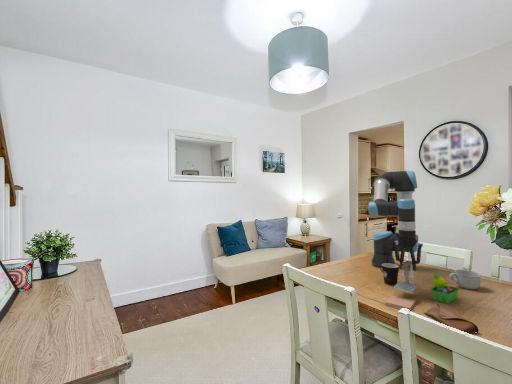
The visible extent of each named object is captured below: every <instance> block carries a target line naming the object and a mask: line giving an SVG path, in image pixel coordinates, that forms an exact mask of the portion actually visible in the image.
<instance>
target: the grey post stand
mask: <svg viewBox="0 0 512 384" xmlns="http://www.w3.org/2000/svg"><path fill="white" fill-rule="evenodd" d="M403 262H404V263H403V264H402V269H401V270H405V276H404V277H405V278H404V279H405V280H404V281H403V280H399V281H397V284H396V285H393V287H392V289H393V290H398V291H402V292H406V293H411V294H412V293H414V291H415V289H416V288H417V287H418V285H419V284H418V283H413V282H409V279H410V278H409V276H410V275H409V271H411V263H412V260H405V261H403Z"/></svg>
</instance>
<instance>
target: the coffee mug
mask: <svg viewBox="0 0 512 384" xmlns="http://www.w3.org/2000/svg"><path fill="white" fill-rule="evenodd" d="M381 266H382V268H381ZM399 268H400V265H399V264H397V263H396V264H390V263H385V264H382V265H380V268H379V269H380V271H381V273H382V276H383V283H384V284H386V285H388V286H395V285H396V284H397V283H398V279H399Z"/></svg>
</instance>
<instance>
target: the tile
mask: <svg viewBox="0 0 512 384" xmlns="http://www.w3.org/2000/svg"><path fill="white" fill-rule="evenodd" d="M384 305H385V306H387V305H388V307H391V306H392V308H395V307H397V308H396V309H399V308H400V310H402V309H401V308H407V309H409V310H411V311H412V309H413V308H414V306H415V305H416V300H414V299H410V298H405V297H401V296H397V295H393V294H391V295H390V296H389V297H388V298H387V299H386V301H384Z"/></svg>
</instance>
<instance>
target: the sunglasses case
mask: <svg viewBox="0 0 512 384" xmlns="http://www.w3.org/2000/svg"><path fill="white" fill-rule="evenodd" d="M422 314H424V315H425V316H427V317H428V318H429V317H430V319H432V320H434V321H436V322H437V321H438V323H439V322H440V323H439V324H441V323H443V324H445V325H447V326H450V327H453V328H456V329H459V330H461V331H464V332H467V333H470V334H469V335H473V334H474V333H475V332H477V333H478V334H479V327H478V326H477V325H476V324H475V323H473V322H472V321H470V320H467V319H466V318H464V317H462V316H460V315H459V314H456V313H455V312H453V311H451V310H449V309H447V308H445V307H443V306H441V305H440V304H438V303H437V304H436V305H435V306H433V307H432V308H430V309H428V310H427V311H425V312H422ZM477 333H475V334H477Z"/></svg>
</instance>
